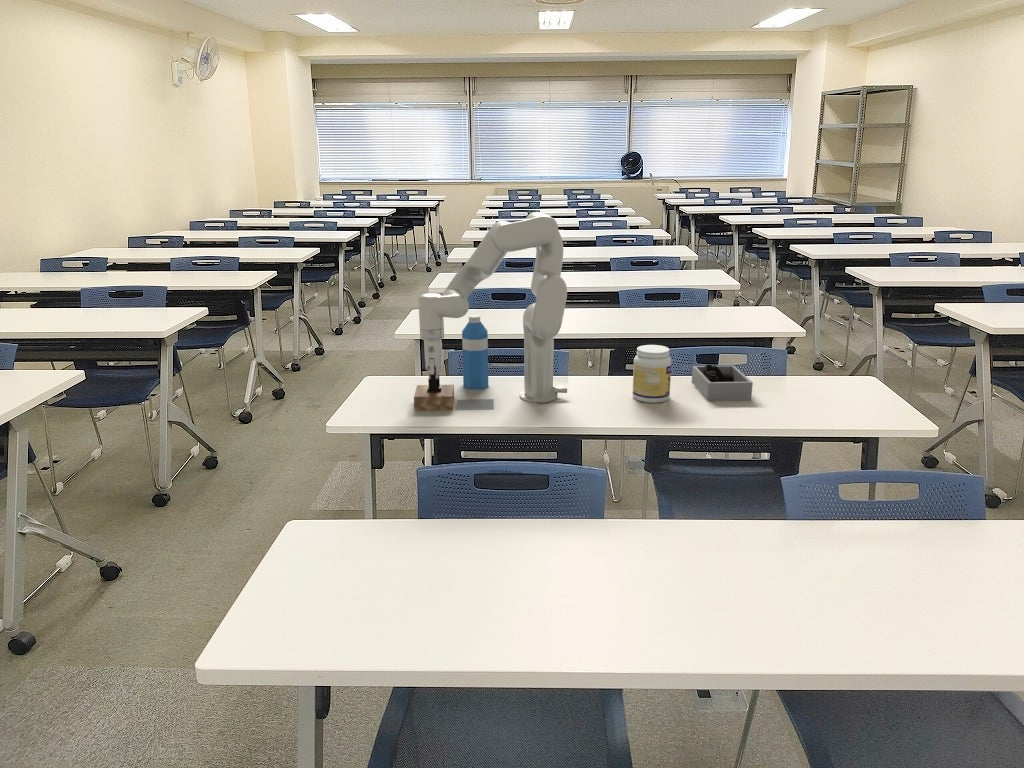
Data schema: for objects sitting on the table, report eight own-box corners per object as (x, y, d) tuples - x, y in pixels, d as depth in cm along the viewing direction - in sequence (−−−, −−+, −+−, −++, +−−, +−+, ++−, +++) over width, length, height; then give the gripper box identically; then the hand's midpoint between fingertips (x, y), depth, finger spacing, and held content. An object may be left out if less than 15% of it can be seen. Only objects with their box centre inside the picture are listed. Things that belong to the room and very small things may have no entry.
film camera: (735, 399, 243) (737, 373, 241) (705, 398, 245) (707, 372, 242) (728, 385, 258) (730, 360, 255) (700, 384, 259) (701, 359, 256)
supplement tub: (672, 404, 239) (675, 353, 234) (634, 404, 239) (637, 353, 234) (665, 392, 251) (668, 343, 245) (629, 391, 251) (631, 343, 246)
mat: (493, 400, 243) (493, 399, 243) (493, 410, 234) (493, 409, 234) (457, 400, 243) (457, 399, 243) (455, 411, 234) (455, 410, 234)
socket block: (454, 398, 245) (453, 384, 244) (452, 411, 234) (452, 396, 232) (417, 399, 245) (417, 385, 243) (414, 411, 233) (413, 396, 232)
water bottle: (458, 384, 260) (456, 314, 252) (483, 380, 264) (481, 312, 256) (468, 392, 252) (466, 320, 244) (493, 388, 255) (492, 317, 248)
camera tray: (732, 381, 261) (733, 365, 259) (751, 399, 242) (752, 382, 240) (691, 382, 260) (692, 366, 258) (707, 400, 242) (708, 383, 240)
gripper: (442, 339, 224) (444, 396, 230) (445, 326, 240) (447, 380, 245) (417, 339, 224) (420, 397, 230) (422, 327, 239) (424, 381, 245)
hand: (434, 388), depth 237 cm, fingers closed on peg, 3 cm apart
